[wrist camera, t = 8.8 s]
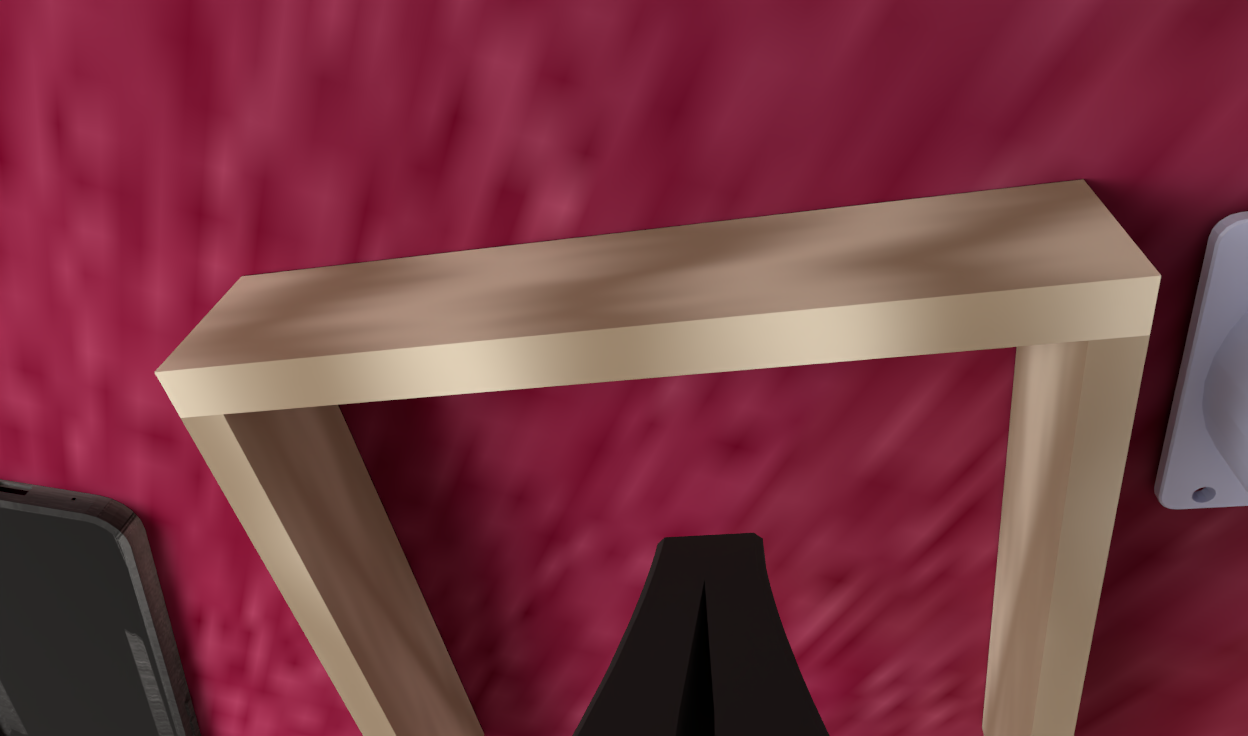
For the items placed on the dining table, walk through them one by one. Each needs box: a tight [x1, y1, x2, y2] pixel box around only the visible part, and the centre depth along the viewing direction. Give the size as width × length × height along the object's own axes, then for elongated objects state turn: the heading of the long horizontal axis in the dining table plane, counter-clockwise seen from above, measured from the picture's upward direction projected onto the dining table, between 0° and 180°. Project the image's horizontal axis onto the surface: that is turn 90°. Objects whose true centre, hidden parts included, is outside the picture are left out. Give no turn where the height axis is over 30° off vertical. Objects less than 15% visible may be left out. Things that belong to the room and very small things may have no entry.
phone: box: [0, 479, 201, 736], centre depth 31 cm, size 8×1×15 cm
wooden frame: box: [155, 179, 1161, 736], centre depth 23 cm, size 19×19×4 cm
